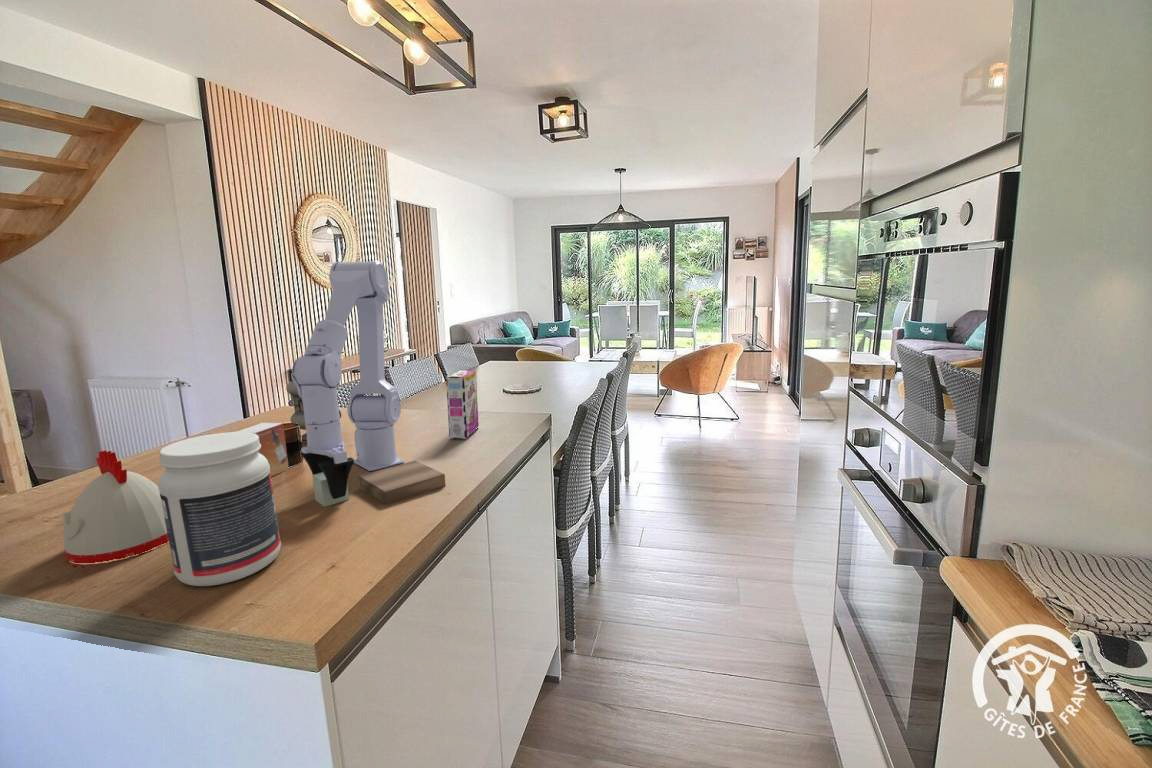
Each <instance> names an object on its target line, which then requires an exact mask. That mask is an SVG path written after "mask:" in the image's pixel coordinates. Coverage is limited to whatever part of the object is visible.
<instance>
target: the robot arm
mask: <svg viewBox="0 0 1152 768" xmlns="http://www.w3.org/2000/svg"><path fill="white" fill-rule="evenodd" d="M328 276H329V277H328V279H329V283H330V284H329V285H330V287H331V290H332V291H331V295H330V297H329V302H328V306H327V310H326V313H325V316H324V317H325V318H324V320H319V321H318V322H317V323H315V326H314V328H313V331H312V334H311V336H310V339H309V341H308V344H307V347H306V349H305V352H304V355H301V356H300V357H298V358H296V360H294V362H293V364H292V368H291V373H290V377H291V380H293V382H294V384H295V385H296V387H297V390H298V395H299V397H301V398H302V401H303V409H304V417H305V425H306V430H305V431H306V432H305V433H307V443H306V446H304V447H303V446H302V447H301V448H300V449H301V450H300V451H301V452H302V453H301V455H300V456H301V457H302V458H303V459H304V460H305V462H306V464H307V465H308V468H309V469H310V472H311V474H312V475H314V474H318V473H322V472H323V473H324V475H325V477H326V480H327V483H328V486H329V490H330V494H331V496H332V498H333V499H337V498H340V497H344V496H345V495H346V489H347V484H348V481H349V476H350V473H351V470H352V467H353V466H354V464H356V465H358V466H359V467H361V468H363V469H365V470H366V471H367V472H375V471H378V470H382V469H386V468H389V467H393V466H397V465H401V464H404V463H405V460H404V459H402V458H400V457H397V448H396V437H395V427H394V425H395V424H397V421H398V420H399V419H400V417H401V411H402V408H401V407H402V405H401V402H400V398H399V392H398V389H397V388H396V386H394V385H392V384H391V383H390V382H388V381H387V380H386V377H385V375H386V374H385V373H386V372H385V370H386V369H385V343H384V341H385V339H384V338H385V337H384V334H385V333H384V306H383V305H384V304H386V303H387V302H388V301H389V276H388V272H387V270H386V268H385V266H384V264H382V262H381V261H380V260H373V261H372V260H371V261H370V260H369V261H343V262H342V261H335V262H333V263H332V265H331V266H330V270H329V274H328ZM354 306H355V307H356V308H357V310H358V311H357V312H358V314H357V315H358V317H357V318H358V350H359V382H358V383H356V385H355V386H353V387H352V388H351V389H350V390H349V399H348V403H347V408H346V409H347V416H348V418H349V419H348V420H350V422H351V423H352V424H354V427H355V431H354V436H353V437H354V443H355V444H354V446H355V453H356V454H355V455H356V459H354V458H353V457H351V456H350V457H348V454H347V450H345V441H344V440H343V433H342V426H341V418H340V415H339V410H340V407H339V397H338V391H337V386H338V385H339V384H340V381H341V379H342V374H343V371H342V369H343V368H342V364H343V358H342V356H341V355H342V353H343V351H344V347H345V344H346V342H347V339H348V335H349V333H348V330H347V328H346V327H345V325H346V323H347V321H348V319H349V317H350V314H351V313H352V310H353V308H354ZM336 385H337V386H336ZM369 394H370V395H369ZM371 394H372V395H371ZM373 394H374V395H373ZM375 394H376V395H375ZM377 394H378V395H377Z"/></svg>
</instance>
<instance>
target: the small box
mask: <svg viewBox="0 0 1152 768" xmlns="http://www.w3.org/2000/svg"><path fill="white" fill-rule="evenodd" d="M234 432H250V433H254V434H257V435H258V436H259V442H260V444H261V448H260V449H259V450H258V452H259V453H260V454H262V455H263V456H264V457H265V458H266V459H267V460H268V463H269V465H270V474H271V478H272V477H273V476H276V475H278V474H280V473H283V472H286V471H288V470H289V461H288V453H287V445H286V438H285V437H286V436H285V429H284V424H283V423H280V422H277V423H276V422H260V423H258V424H255V425H252V426H249V427H247V428H243V429H240V430H235V431H234Z"/></svg>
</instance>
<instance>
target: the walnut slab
mask: <svg viewBox="0 0 1152 768" xmlns="http://www.w3.org/2000/svg"><path fill="white" fill-rule="evenodd" d="M358 480H359V488H360V489H361V490H362V491H364V492H366V493H368V494H369V495H371V496H373V497H374V498H375V499H377V501H378V500H379V501H380V502H381V503H383V504H385V505H386V506H387V505H391V504H394V503H397V502H400V501H404V500H406V499H409V498H413V497H416V496H419V495H422V494H425V493H428V492H432V491H434V490H437V489H438V490H439V489H441V488H443V487H446V475H445V473H443V472H441V471H439V470H437V469H436V468H433V467H430V466H428V465H425V464H424V463H422V462H420V461H417V460H412V461H409V462H404V463H400V464H396V465H393V466H389V467H385V468H381V469H378V470H374V471H370V472H369V473H364V474H359V475H358Z"/></svg>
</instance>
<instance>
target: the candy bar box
mask: <svg viewBox="0 0 1152 768" xmlns="http://www.w3.org/2000/svg"><path fill="white" fill-rule="evenodd" d="M477 382H478V381H477V371H476V370H473V369H472V370H471V369H470V370H469V369H468V370H467V369H465V370H458V371H456V372H454V373H451V374H450V375H448V376H446V377H445V384H446V386H445V387H446V401H447V416H448V417H447V420H448V433H449V440H455V439H466V440H468V439H469V438H470V437H471V436H472V435H473V434H474V433H475V432H476V431H477V430H476V428H477V427H478V426H479V412H478V411H479V409H478V407H479V406H478V405H479V404H478V403H479V402H478V386H477V385H478V383H477ZM475 430H476V431H475ZM474 431H475V432H474ZM473 432H474V433H473ZM472 433H473V434H472ZM471 434H472V435H471ZM470 435H471V436H470ZM469 436H470V437H469ZM468 437H469V438H468ZM467 438H468V439H467Z"/></svg>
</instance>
